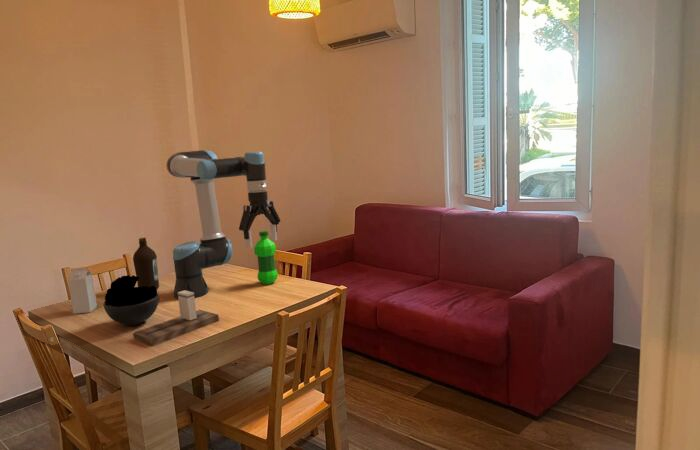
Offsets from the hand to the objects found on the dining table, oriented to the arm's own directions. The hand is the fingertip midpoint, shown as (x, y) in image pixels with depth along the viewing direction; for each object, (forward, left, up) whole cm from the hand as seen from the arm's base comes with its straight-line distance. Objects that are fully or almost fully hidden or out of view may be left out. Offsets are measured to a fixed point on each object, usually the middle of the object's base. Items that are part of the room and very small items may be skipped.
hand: (262, 243), depth 207 cm
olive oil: (-74, -10, -27) cm, 80 cm away
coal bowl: (-32, -40, -27) cm, 58 cm away
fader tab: (-10, -30, -23) cm, 40 cm away
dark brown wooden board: (-10, -35, -26) cm, 45 cm away
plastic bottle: (-27, +25, -27) cm, 45 cm away
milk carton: (-68, -43, -27) cm, 85 cm away
